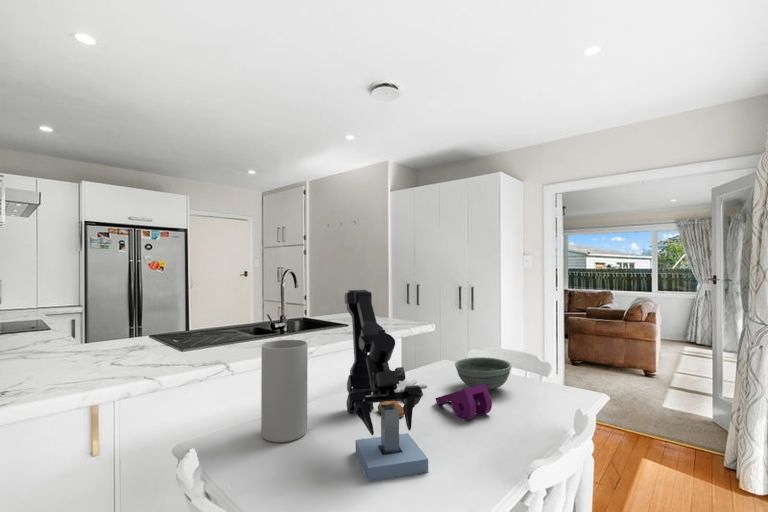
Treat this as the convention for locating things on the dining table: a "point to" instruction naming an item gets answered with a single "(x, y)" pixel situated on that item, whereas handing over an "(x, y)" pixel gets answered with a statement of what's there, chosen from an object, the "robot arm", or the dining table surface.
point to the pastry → (401, 412)
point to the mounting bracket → (469, 401)
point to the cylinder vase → (284, 390)
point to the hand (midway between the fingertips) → (391, 432)
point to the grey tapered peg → (389, 429)
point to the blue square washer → (390, 458)
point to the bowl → (483, 372)
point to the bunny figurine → (407, 383)
